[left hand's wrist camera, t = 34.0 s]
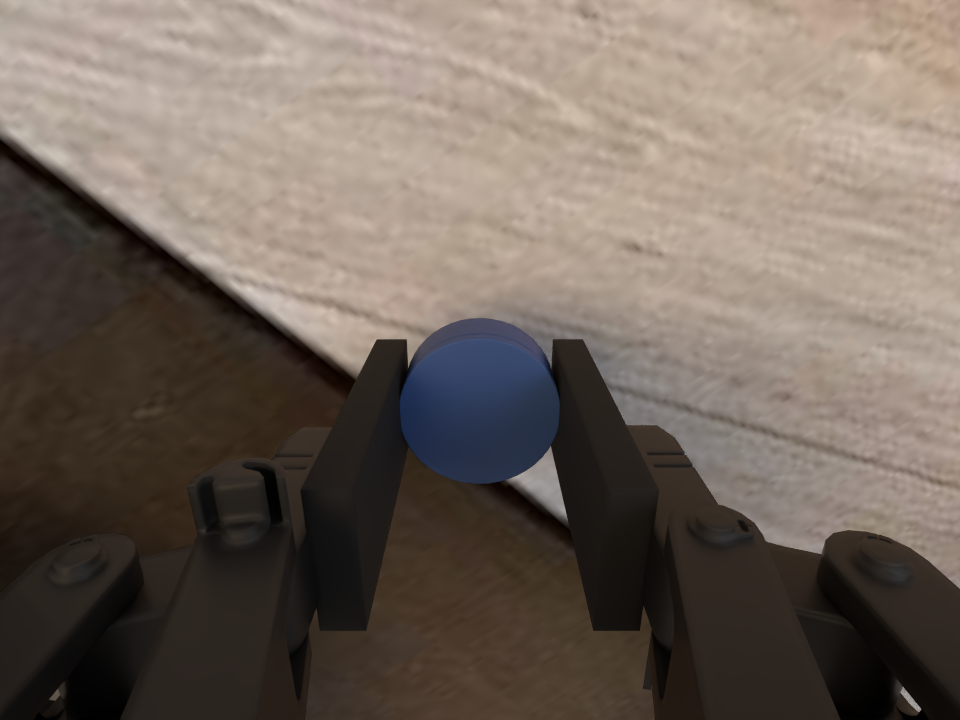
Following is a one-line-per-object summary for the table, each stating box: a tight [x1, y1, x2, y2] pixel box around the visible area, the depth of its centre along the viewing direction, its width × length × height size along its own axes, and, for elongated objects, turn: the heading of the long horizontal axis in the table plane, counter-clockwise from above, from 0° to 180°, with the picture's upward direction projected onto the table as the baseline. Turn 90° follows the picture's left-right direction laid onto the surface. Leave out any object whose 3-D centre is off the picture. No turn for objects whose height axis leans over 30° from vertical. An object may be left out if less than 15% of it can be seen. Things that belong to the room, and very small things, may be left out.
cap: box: [400, 318, 560, 484], centre depth 14 cm, size 4×4×2 cm
